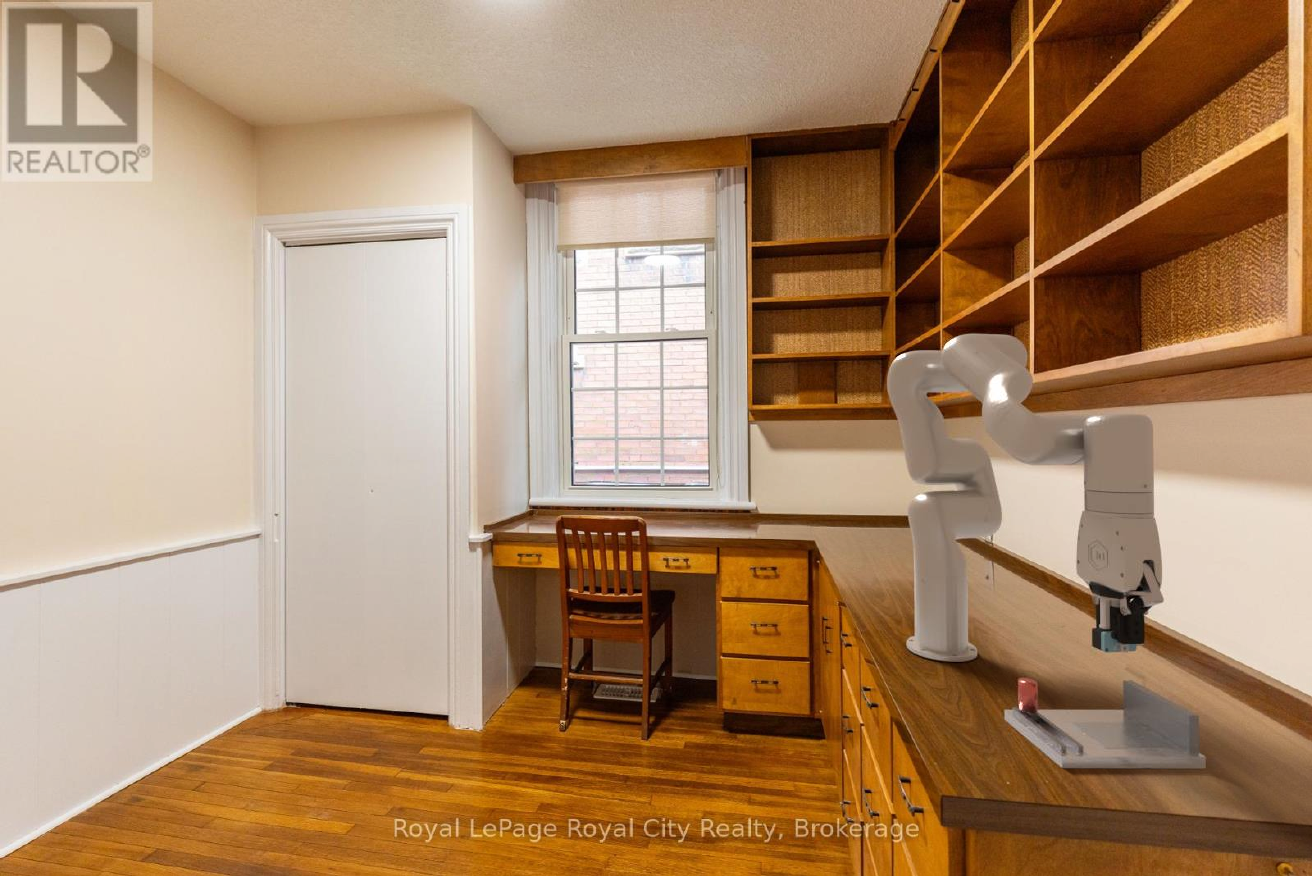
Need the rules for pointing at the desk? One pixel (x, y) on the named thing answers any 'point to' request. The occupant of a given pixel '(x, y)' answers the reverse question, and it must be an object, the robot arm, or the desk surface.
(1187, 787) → the desk surface
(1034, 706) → the lever
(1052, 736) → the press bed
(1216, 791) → the desk surface
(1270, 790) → the desk surface
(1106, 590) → the push button
